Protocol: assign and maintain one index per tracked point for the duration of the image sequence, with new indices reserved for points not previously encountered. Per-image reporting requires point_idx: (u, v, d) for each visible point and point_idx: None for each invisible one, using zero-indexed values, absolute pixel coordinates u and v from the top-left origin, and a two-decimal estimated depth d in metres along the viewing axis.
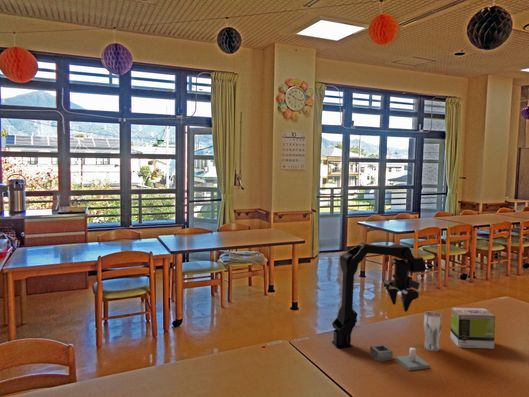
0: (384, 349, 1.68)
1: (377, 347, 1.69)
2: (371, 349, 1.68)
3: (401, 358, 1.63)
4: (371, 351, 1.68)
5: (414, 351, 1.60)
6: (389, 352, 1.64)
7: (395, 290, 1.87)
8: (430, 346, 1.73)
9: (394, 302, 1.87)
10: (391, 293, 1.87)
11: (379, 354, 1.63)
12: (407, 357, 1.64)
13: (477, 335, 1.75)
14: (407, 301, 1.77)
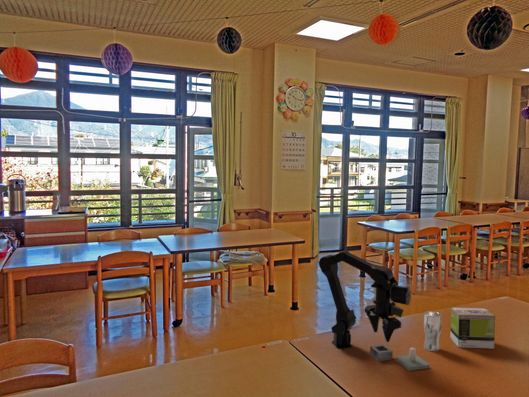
0: (384, 349, 1.68)
1: (377, 347, 1.69)
2: (371, 349, 1.68)
3: (401, 358, 1.63)
4: (371, 351, 1.68)
5: (414, 351, 1.60)
6: (389, 352, 1.64)
7: (377, 317, 1.71)
8: (430, 346, 1.73)
9: (376, 330, 1.71)
10: (372, 320, 1.71)
11: (379, 354, 1.63)
12: (407, 357, 1.64)
13: (477, 335, 1.75)
14: (389, 331, 1.61)
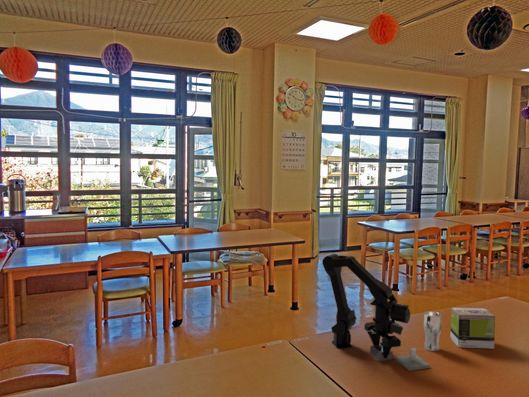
0: None
1: (377, 347, 1.69)
2: (371, 349, 1.68)
3: (401, 358, 1.63)
4: (371, 351, 1.68)
5: (414, 351, 1.60)
6: (389, 352, 1.64)
7: (378, 335, 1.70)
8: (430, 346, 1.73)
9: None
10: (374, 339, 1.70)
11: (379, 354, 1.63)
12: (407, 357, 1.64)
13: (477, 335, 1.75)
14: (387, 347, 1.62)
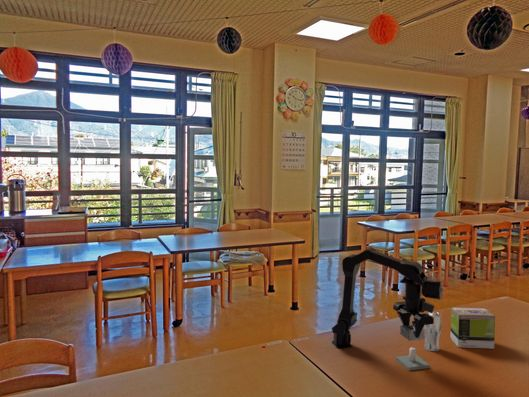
0: None
1: (407, 327, 1.62)
2: (401, 329, 1.62)
3: (401, 358, 1.63)
4: (401, 331, 1.62)
5: (414, 351, 1.60)
6: (421, 331, 1.58)
7: (408, 314, 1.64)
8: (430, 346, 1.73)
9: None
10: (404, 318, 1.64)
11: (411, 333, 1.57)
12: (407, 357, 1.64)
13: (477, 335, 1.75)
14: (418, 326, 1.56)
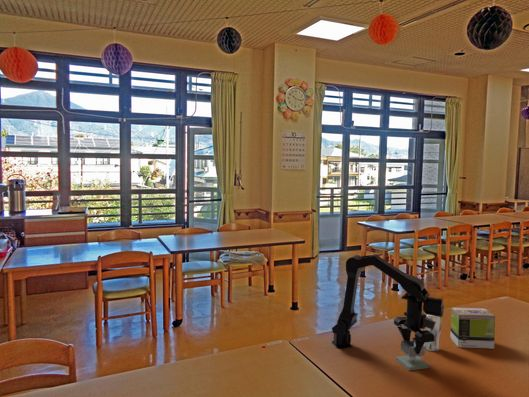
0: None
1: (408, 342, 1.63)
2: (402, 344, 1.62)
3: (401, 358, 1.63)
4: (402, 346, 1.62)
5: None
6: None
7: (409, 330, 1.65)
8: (430, 346, 1.73)
9: None
10: (404, 334, 1.64)
11: (411, 349, 1.57)
12: (407, 357, 1.64)
13: (477, 335, 1.75)
14: (419, 343, 1.56)
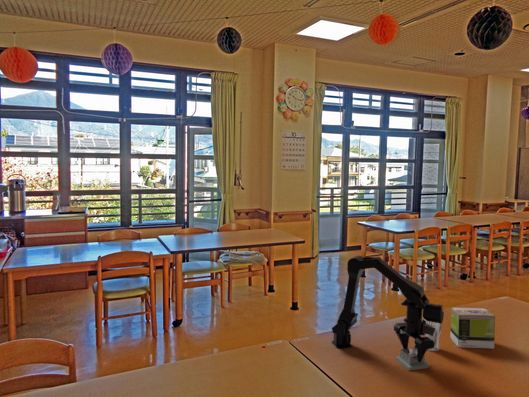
0: None
1: (408, 351, 1.63)
2: (402, 353, 1.63)
3: None
4: (402, 355, 1.63)
5: (414, 351, 1.60)
6: None
7: (407, 335, 1.66)
8: None
9: None
10: (402, 339, 1.65)
11: (411, 358, 1.58)
12: None
13: (477, 335, 1.75)
14: (421, 350, 1.55)
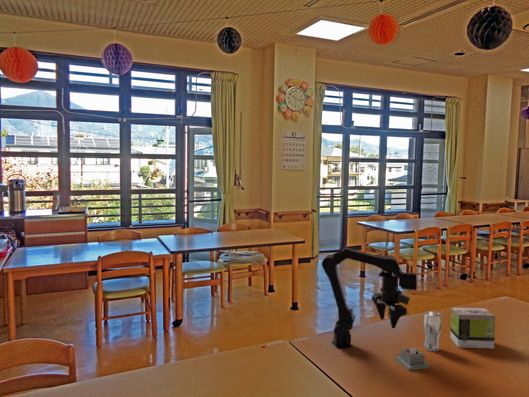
0: None
1: (408, 351, 1.63)
2: (402, 353, 1.63)
3: None
4: (402, 355, 1.63)
5: (414, 351, 1.60)
6: (421, 356, 1.59)
7: (383, 304, 1.76)
8: (430, 346, 1.73)
9: (382, 317, 1.76)
10: (379, 308, 1.76)
11: (411, 358, 1.58)
12: None
13: (477, 335, 1.75)
14: (395, 317, 1.66)
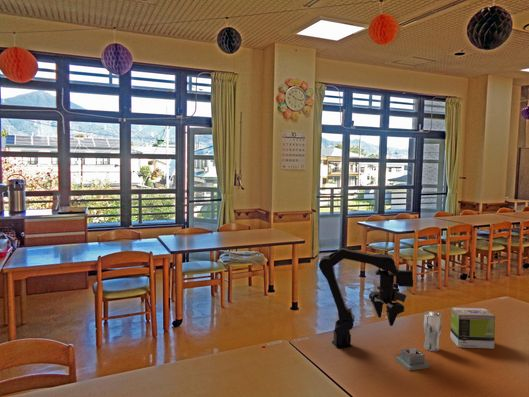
0: None
1: (408, 351, 1.63)
2: (402, 353, 1.63)
3: None
4: (402, 355, 1.63)
5: (414, 351, 1.60)
6: (421, 356, 1.59)
7: (381, 302, 1.78)
8: (430, 346, 1.73)
9: (380, 315, 1.77)
10: (377, 306, 1.77)
11: (411, 358, 1.58)
12: None
13: (477, 335, 1.75)
14: (392, 315, 1.67)
